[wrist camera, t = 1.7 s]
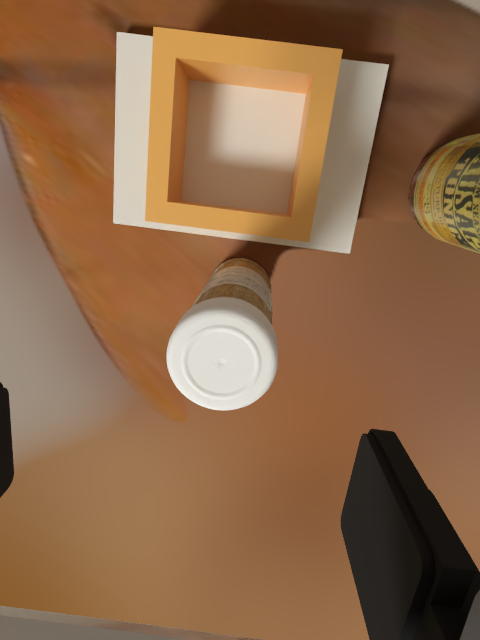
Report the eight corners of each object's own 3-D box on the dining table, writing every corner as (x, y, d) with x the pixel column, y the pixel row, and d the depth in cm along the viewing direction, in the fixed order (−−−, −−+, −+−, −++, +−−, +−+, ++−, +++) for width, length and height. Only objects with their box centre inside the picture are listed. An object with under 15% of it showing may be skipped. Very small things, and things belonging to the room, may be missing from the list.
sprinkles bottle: (243, 329, 29) (227, 434, 16) (196, 289, 28) (141, 367, 16) (285, 284, 28) (303, 360, 15) (236, 242, 27) (213, 284, 14)
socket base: (383, 69, 24) (414, 38, 19) (346, 251, 27) (364, 263, 22) (122, 38, 24) (87, -1, 19) (118, 222, 27) (87, 227, 23)
